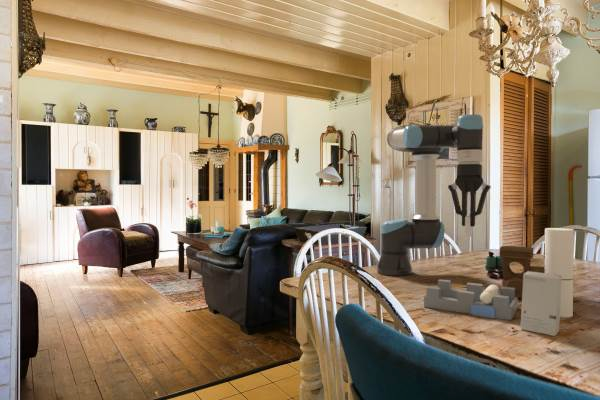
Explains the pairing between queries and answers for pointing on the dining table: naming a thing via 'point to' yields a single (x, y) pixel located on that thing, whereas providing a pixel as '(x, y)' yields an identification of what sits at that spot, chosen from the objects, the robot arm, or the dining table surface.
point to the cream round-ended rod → (489, 294)
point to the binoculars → (494, 266)
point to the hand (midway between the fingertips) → (468, 236)
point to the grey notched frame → (471, 300)
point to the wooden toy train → (520, 256)
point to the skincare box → (541, 303)
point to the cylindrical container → (561, 263)
